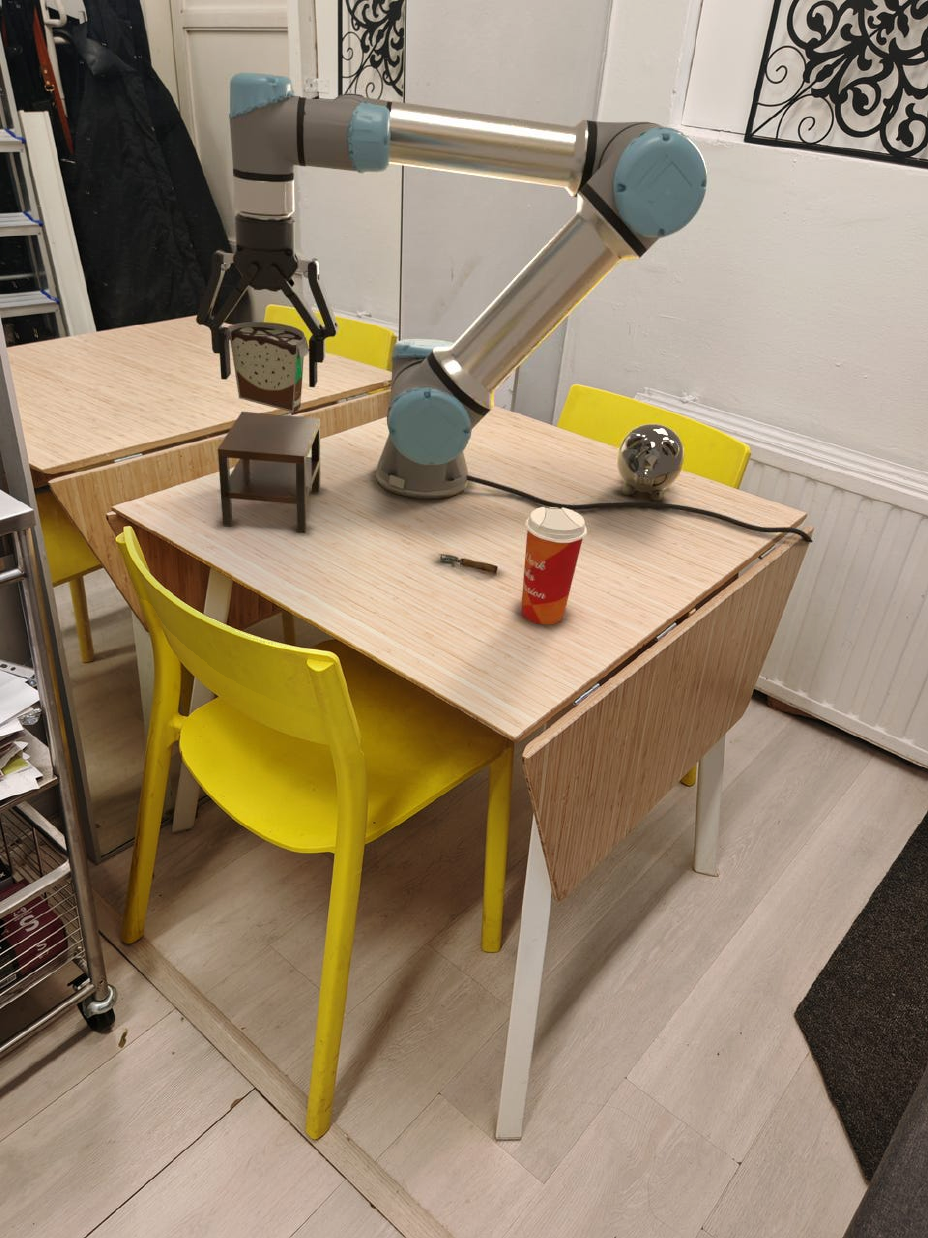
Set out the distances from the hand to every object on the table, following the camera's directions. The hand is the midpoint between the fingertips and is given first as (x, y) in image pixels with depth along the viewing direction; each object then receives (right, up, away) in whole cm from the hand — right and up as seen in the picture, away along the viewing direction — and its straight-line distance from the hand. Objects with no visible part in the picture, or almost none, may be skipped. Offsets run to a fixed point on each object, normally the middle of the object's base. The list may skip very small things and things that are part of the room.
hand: (269, 380), depth 127 cm
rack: (-2, -17, +11) cm, 20 cm away
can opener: (+28, -26, 0) cm, 38 cm away
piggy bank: (+58, -12, +28) cm, 66 cm away
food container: (+1, -2, +2) cm, 3 cm away
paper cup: (+38, -33, -8) cm, 51 cm away
